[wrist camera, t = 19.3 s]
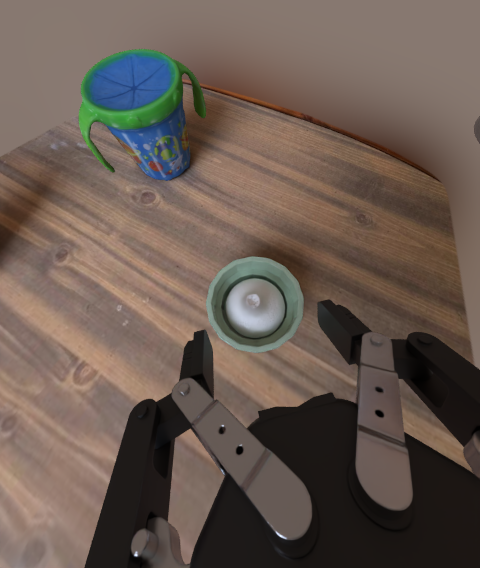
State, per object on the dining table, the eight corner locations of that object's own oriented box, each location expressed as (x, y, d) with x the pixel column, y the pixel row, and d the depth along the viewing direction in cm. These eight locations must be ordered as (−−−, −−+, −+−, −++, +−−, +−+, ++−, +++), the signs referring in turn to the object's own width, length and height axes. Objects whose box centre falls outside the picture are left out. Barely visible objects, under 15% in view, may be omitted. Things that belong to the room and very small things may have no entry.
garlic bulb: (287, 291, 23) (306, 266, 16) (275, 345, 22) (289, 347, 14) (236, 278, 24) (229, 247, 16) (220, 329, 22) (204, 321, 15)
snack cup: (195, 120, 33) (172, 26, 23) (229, 161, 30) (219, 73, 20) (108, 164, 31) (43, 82, 21) (135, 212, 28) (75, 142, 18)
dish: (279, 266, 25) (286, 247, 20) (303, 339, 22) (317, 338, 17) (208, 283, 25) (199, 268, 20) (224, 359, 22) (217, 363, 17)
